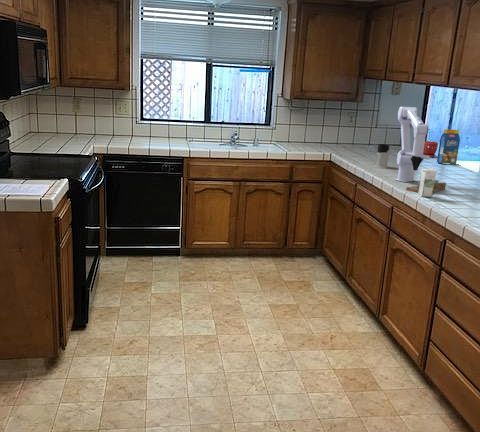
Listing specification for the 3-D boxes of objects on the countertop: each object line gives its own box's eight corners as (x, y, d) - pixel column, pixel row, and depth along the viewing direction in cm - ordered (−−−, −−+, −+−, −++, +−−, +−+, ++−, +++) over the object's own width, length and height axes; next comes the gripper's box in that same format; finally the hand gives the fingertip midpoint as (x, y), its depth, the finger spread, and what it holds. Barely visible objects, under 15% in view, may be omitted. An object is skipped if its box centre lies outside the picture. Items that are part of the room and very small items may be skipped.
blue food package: (456, 164, 378) (461, 130, 371) (441, 164, 376) (446, 129, 369) (451, 163, 384) (456, 129, 377) (436, 162, 382) (441, 128, 375)
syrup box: (428, 194, 275) (432, 168, 271) (432, 197, 269) (436, 170, 265) (417, 194, 275) (421, 167, 271) (421, 197, 269) (425, 169, 265)
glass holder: (388, 168, 348) (390, 146, 344) (366, 166, 351) (369, 144, 347) (387, 166, 356) (389, 144, 352) (366, 164, 359) (368, 143, 355)
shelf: (429, 186, 297) (430, 179, 296) (444, 189, 290) (446, 182, 289) (406, 189, 284) (407, 182, 283) (421, 193, 277) (422, 186, 276)
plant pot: (438, 157, 410) (441, 142, 406) (431, 158, 400) (434, 143, 397) (423, 154, 418) (425, 140, 415) (415, 156, 409) (417, 141, 406)
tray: (429, 185, 291) (431, 176, 290) (437, 187, 287) (439, 178, 286) (417, 187, 284) (418, 178, 283) (425, 189, 280) (426, 180, 279)
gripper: (403, 144, 291) (400, 168, 295) (425, 148, 280) (422, 173, 284) (410, 144, 296) (407, 167, 299) (433, 147, 285) (429, 172, 288)
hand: (415, 170), depth 292 cm, fingers closed
